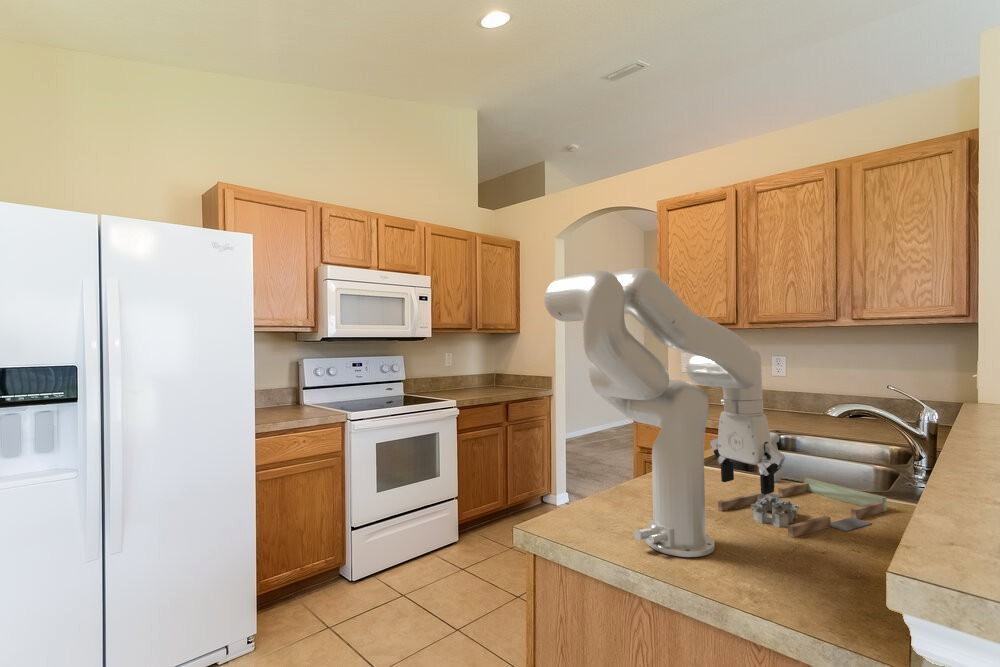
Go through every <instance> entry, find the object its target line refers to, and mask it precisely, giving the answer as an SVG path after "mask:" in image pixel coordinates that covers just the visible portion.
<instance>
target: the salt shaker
mask: <svg viewBox="0 0 1000 667" xmlns="http://www.w3.org/2000/svg"><path fill="white" fill-rule="evenodd" d="M770 438H771V446H772V447H774V448H775V449H776V450H778V451H779V449H778V444H777V443H779V442H780V435H779V434H778V433H776V432H771V431H770ZM770 461H771V462H772V464H773V461H774V458H773V457H771V460H770ZM764 464H765V463H764ZM765 466H766V465H765ZM766 467H767V466H766ZM758 472H759V474H760V475H762V474H763V473H762V471H761V470H760V468H759V467H758ZM783 475H784V470H783V467H781V468H780V469H779V470H778V471H777V473H775V474H774V483H779V482H780V481H781V479H782V477H783Z"/></svg>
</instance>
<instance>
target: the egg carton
mask: <svg viewBox="0 0 1000 667" xmlns="http://www.w3.org/2000/svg"><path fill="white" fill-rule="evenodd" d="M750 508H751V511H752V517H753V518H752V519H753V520H754V521H756V522H757V523H759V522H760V524H771V525H773V526H774V527H776V528H788V526H789V525H790V523H793V522H794V521H793V520H794V519H798V510H799V509H800V507H799V504H798V503H796V504H792V503H791V501H790V500H788V501H787V500H785V499H782V498H773V497H771V496H769V495H766V496H765V497H764V498H763V499H761V500H760V499H759V500H758V501H757V502H756V503H755V504H751V505H750ZM768 511H769V512H771V513H769V512H768Z"/></svg>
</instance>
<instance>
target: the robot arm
mask: <svg viewBox="0 0 1000 667" xmlns="http://www.w3.org/2000/svg"><path fill="white" fill-rule="evenodd" d="M543 297H544V298H543V299H544V306H545V308H546V311H547V313H548V314H549V315H550V316H551V317H553V318H554V319H555V320H558V321H560V322H580V321H582V324H583V325H582V335H583V336H582V337H583V340H582V341H583V348H584V352H585V353H584V354H585V356H586V357H587V358H588V360H589V361H590V364H589V369H588V375H589V382H590V383H591V386H592V387H593V389H594V391H595V392H596V394H598V395H599V396H600V397H601V398H603V400H605V401H606V402H608V403H609V404H611V406H613V407H614V408H615V409H617V410H618V411H619V412H620V413H621V414H623V415H624V416H626V417H627V418H629V419H630V420H632V421H634V422H636V423H639V424H645V425H649V426H654V427H658V428H660V430H659V432H658V434H657V436H656V438H655V440H654V442H653V445H652V449H651V467H652V468H651V471H652V472H651V473H652V479H651V480H652V516H653V517H652V519H649V520H648V521H649V522H648V525H647V526H646V528H640V529H635V530H634V531H633V537H634V539H635V541H637V542H641V541H644V540H645V544H647V545H648V546H649V547H650V548H652V549H653V550H655V551H657V552H660V553H662V554H666V555H669V556H672V557H673V556H675V557H679V558H681V557H682V558H698V557H704V556H708V555H710V554H711V553H713V552H714V550H715V549H716V548H715V541H714V539H713V537H711V536H710V535H709V534H707V533H706V500H705V499H706V498H705V496H706V495H705V491H706V490H705V489H706V487H705V486H706V485H705V455H704V454H705V435H706V428H707V423H708V419H709V418H708V417H709V413H710V412H709V409H710V403H709V402H710V401H709V398H708V395H707V394H706V392H705V391H704V389H702V388H701V387H700V386H704V387H712V388H714V387H715V388H722V396H723V398H722V399H720V404H721V405H723V411H721V412H720V415H719V419H718V420H719V421H718V427H717V428H718V433H717V438H716V437H715V438H714V439H712V440H710V441H709V442H710V445H711V448H712V450H713V453H714V455H715V457H716V458H717V462H718V464H720V477H721V482H723V483H727V482H731V481H734V480H735V474H734V472H735V471H734V462H733V461H736V462H740V463H743V464H748V465H755V466H758V469H759V468H760V470H761V471H762V473H763V474H762V475H761V474H760V475H759V477H760V478H759V480H760V481H759V482H760V494H761V493H762V494H764V495H766V494H769V493H772V494H774V492H775V482H774V474H775V473H777V471H778V470H779V469H780V468H781V467H782V466H783V464H784V462H785V460H786V456H785V454H783V453H782V452H780V451H779V449H778V450H776V449H775V448H774V447H772V446H771V438H770V432H771V431H770V426H769V421H768V418H767V416H766V414H765V413H764V402H763V398H764V397H763V382H762V380H763V379H762V378H763V377H762V358H761V357H762V356H761V353H760V352H759V350H757V349H754V348H752V347H751V346H749V344H748V343H747V342H746V341H745V340H744V339H743V338H742V337H741V336H739V335H738V334H737V333H736V332H734V331H733V330H731V329H729V328H727V327H725V326H723V325H721V324H720V323H718V322H715V321H713V320H712V319H709V318H707V317H705V316H703V315H701V314H698V313H696V312H694V311H693V310H692V309H690V307H689V306H688V305H687V304H686V303H685V302H684V301H683V299H682V298H680V297H679V296H678V294H676V292H674V290H673V289H672V288H671V287H670V286H669V285H668V284H667V283H666V282H665V281H664V279H662V277H661V276H659V274H657V273H656V272H655V271H654V270H652V269H650V268H647V267H633V268H629V269H624V270H623V269H622V270H618V271H617V270H616V271H612V272H609V271H606V270H593V271H591V270H590V271H585V272H581V273H577V274H572V275H566V276H562V277H558V278H556V279H554V280H553V281H551V283H550V284H549V285H548V287H547V288H546V290H545V292H544V296H543ZM625 315H630V316H631V317H633V318H634V319H635V320H636V321H637V322H638V323H640V324H641V325H642V326H643V328H644V329H646V330H647V331H648V332H649V333H650V334H651V336H653V337H654V338H655V339H656V340H657V341H658V342H659V343H660V344H662V345H664V346H666V347H668V348H671V349H674V350H675V351H676V350H677V351H679V352H682V353H683V352H684V353H689V354H692V355H691V356H690V357H689V359H687V360H688V361H687V363H686V373H687V377H688V378H689V379H690V380H691V381H692V382H689V381H686V380H679V379H670V375H669V372H668V369H667V368H666V366H665V364H664V363H663V362H662V361H661V360H660V359H659V357H657V356H656V355H655V354H654V353H652V352H651V351H650V350H649V349H648V348H647V347H646V346H644V345H643V344H642V343H641V342H640V341H639V340H638V339H636V337H635V336H634V335H633V334H632V333H631V332H629V330H628V328H627V325H626V322H625ZM693 382H694V383H693ZM698 385H700V386H698ZM771 457H773V458H774V461H773V464H772V462H771V461H770V460H771ZM764 463H765V464H764ZM765 465H766V466H767V467H766V466H765ZM782 468H783V467H782Z"/></svg>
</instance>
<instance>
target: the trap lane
mask: <svg viewBox="0 0 1000 667" xmlns="http://www.w3.org/2000/svg"><path fill="white" fill-rule="evenodd" d="M806 492H810V493H813V494H817V495H819V496H820V495H821V496H824V497H827V498H832V499H834V500H838V501H842V502H845V503H849V504H853V505H856V506H857V507H852V508H851V512H850V513H851V515H850V517H848V518H847V517H846V518H844V519H843V518H842V519H839V520H836V521H832V522H831V517H830V516H828V515H822V516H820V517H819V516H818V517H815V518H812V519H808V520H805V521H801V522H797V523H794V524H788V527H787V534H788V537H790V538H793V539H794V538H797V537H801V536H803V535H807V534H810V533H813V532H817V531H821V530H824V529H827V528H833V529H834V530H835V529H836V530H840V531H842V532H846V533H847V532H850V531H852V530H856V529H860V528H863V527H867V526H870V525H872V522H870V521H866V520H863V518H867V517H869V516H873V515H874V516H875V515H877V514H880V513H884V512H886V511H888V509H887V508H888V506H887V497H886V496H883V495H878V494H873V493H870V492H867V491H866V492H865V491H861V490H857V489H854V488H851V487H850V488H849V487H845V486H843V485H838V484H833V483H829V482H827V481H822V480H818V479H813V478H810V477H805V478H803V482H800V483H795V484H792V485H787V486H782V487H778V494H776V493H769V494H766V495H769V496H771V497H773V498H778V499H782V498H785V497H789V496H793V495H799V494H803V493H806ZM766 495H764V494H762V493H761V492H760V493H757V494H756V493H749V494H746V495H745V494H744V495H741V496H737V497H736V496H735V497H732V498H726V499H723V500H718V501H717V510H718V509H719V510H718V511H720V510H721V512H723V511H722V510H725V511H728V510H727V509H730V510H732V509H731V508H734V509H737V508H736V507H738V508H742V507H741V506H743V507H746V505H747V506H751V504H755V503H756V502H757V501H758V500H759V499H760V500H761V499H763V498H764V497H765V496H766ZM861 519H862V520H861Z"/></svg>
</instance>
